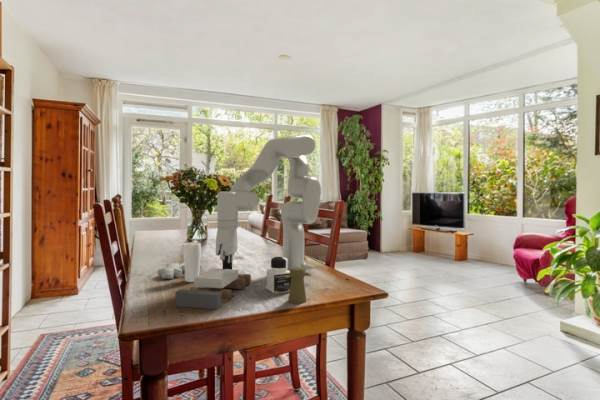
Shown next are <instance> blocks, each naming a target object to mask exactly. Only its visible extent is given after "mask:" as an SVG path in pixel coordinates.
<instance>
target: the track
mask: <svg viewBox="0 0 600 400" xmlns="http://www.w3.org/2000/svg"><path fill="white" fill-rule="evenodd" d="M251 282H252V275H251V274H250V273H249V274H247V273H238V278H237V279H236V280H234V281H233V282H231V283H230V284H228V285H227V286H225V287H224V288H223V289H228V290H232V289H233V290H244V289H245V287H246V286H250V284H251ZM234 297H235V293H232V298H234ZM228 302H229V301H228V299H226V298H222V303H228Z"/></svg>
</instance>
